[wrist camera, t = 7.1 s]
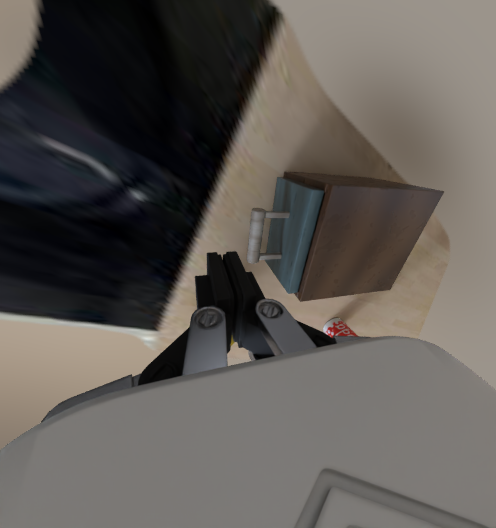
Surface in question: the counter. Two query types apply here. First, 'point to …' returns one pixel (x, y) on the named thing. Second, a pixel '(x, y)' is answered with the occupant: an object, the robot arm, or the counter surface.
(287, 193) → the drawer
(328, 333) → the beverage cup
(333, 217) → the cabinet
